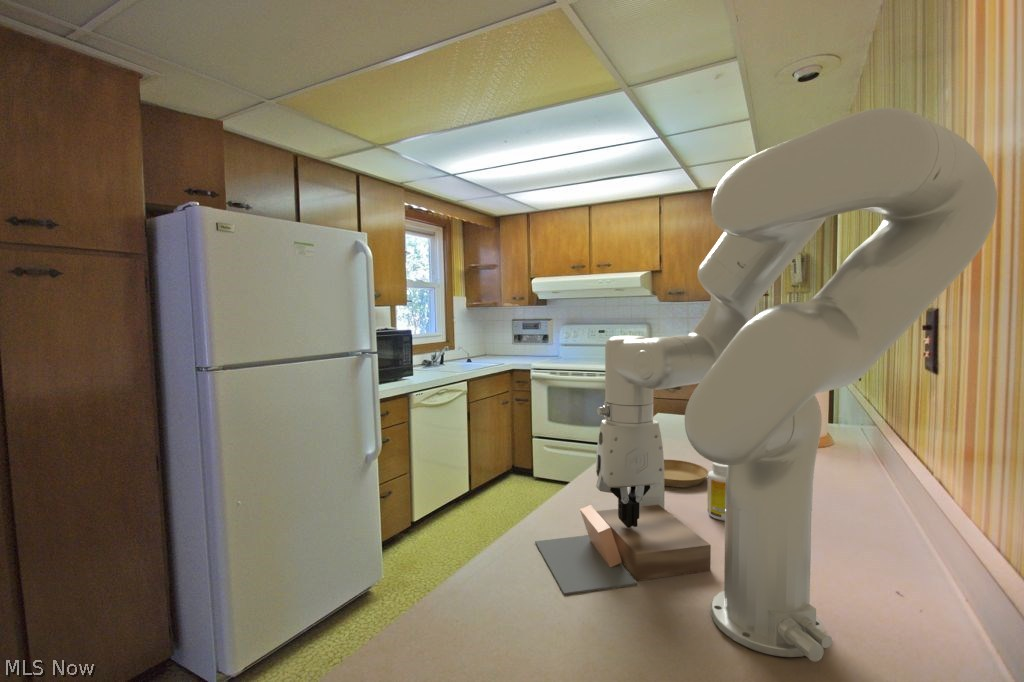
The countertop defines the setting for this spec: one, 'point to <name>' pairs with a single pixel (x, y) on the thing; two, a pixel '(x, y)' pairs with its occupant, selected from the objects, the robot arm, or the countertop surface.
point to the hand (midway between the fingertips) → (628, 523)
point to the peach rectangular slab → (601, 535)
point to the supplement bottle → (717, 491)
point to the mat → (581, 566)
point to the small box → (654, 496)
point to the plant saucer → (683, 473)
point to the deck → (658, 544)
